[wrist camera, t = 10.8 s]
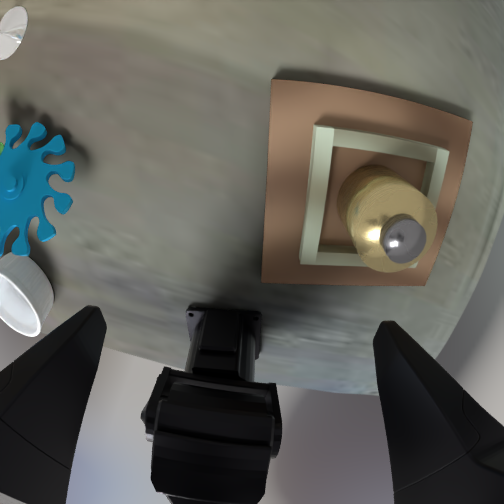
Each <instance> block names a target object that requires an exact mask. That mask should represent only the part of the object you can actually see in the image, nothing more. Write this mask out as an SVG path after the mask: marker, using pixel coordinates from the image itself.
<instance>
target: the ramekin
mask: <svg viewBox="0 0 504 504" xmlns="http://www.w3.org/2000/svg"><path fill="white" fill-rule="evenodd" d="M53 301H54V295H53V290H52V287H51V284H50V282H49V280H48V278H47V277H46V275H45V274H44V272H43V271H42V270H41V268H40V267H39V266H38V265H37V264H36V263H35V262H34V261H33V260H32V259H30V258H29V257H28V256H18V255H14V254H12V252H10V253H8V254H6V255H5V256H4V257H3V258H1V259H0V318H1V319H2V320H3V321H4V322H5V323H7V324H8V325H9V326H10V327H11V328H13V329H14V330H16V331H17V332H19V333H21V334H24V335H26V336H36V335H38V334H39V333H40V331H41V328H42V324H43V322H44V320H45V318H46V317H47V315H48V313H49V311H50V309H51V307H52V305H53Z"/></svg>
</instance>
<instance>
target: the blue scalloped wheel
mask: <svg viewBox="0 0 504 504" xmlns="http://www.w3.org/2000/svg"><path fill="white" fill-rule="evenodd" d="M21 135H22V129H21V127H20V125H17V124H13V125H8V127H7V128H6V143H5V146H4V145H3V143H1V142H0V257H1V256H2V254H3V252H4V245H5V241H6V238H7V236H8V235H9V233H10V232H11V231H12V230H13V229H14V228H15V227H18V228H19V230H20V234H19V237H18V238H17V239H16V240H15V242H14V243H13V245H12V254H14V255H18V256H29V254H30V245H29V242H28V228H29V224H30V221H31V219H32V218H33V217H38V218H39V226H38V229H37V236H38V238H39V240H40V241H43V242H45V241H48V240H50V239H51V238H53V237H54V236H55V235H56V230H55V228H54V226H52V225H51V224H50V223H49V222H48V220H47V219H46V216H45V213H44V201H45V199H46V198H48V197H53V198H54V204H55V208H56V209H57V211H58V212H59V213H61V214H65V213H66V212H67V211H68V210H69V208H70V207H71V205H72V203H73V201H72V199H71V197H70V196H69V195H68V194H66V193H59V192H57V191H55V190H53V189H52V188H51V187H50V185H49V183H48V180H49V178H50V176H51V175H53V174H58V175H59V176H60V177H61V178H62V179H63V180H64V181H65V182H71V181H72V180H73V178H74V174H75V165H74V163H73V162H71V161H66V162H64V163H62V164H59V165H50V164H46V163H44V162H43V160H44V157H45V156H46V155H48V154H54V155H62V154H64V153H65V152H66V147H65V144H64V141H63V138H62V136H61V135H57V136H55V137H54V138H53V139H52V140H51V141H50V142H49V143H48V144H46V145H45V146H43V147H42V148H39V149H36V150H30V147H31V145H32V144H33V143H34V142H37V141H41V140H43V139H44V138H45V137H46V135H47V131H46V128H45V127H44V126H43V125H42V124H41V123H39V122H36V123H34V124H33V125H32V127H31V129H30V132H29V134H28V136H27V138H26V139H25V140H24V141H23V142H22V144H20V145H19V146H18V147H17V148H15V149H12V146H13V144H14V143H15V142H16V141H17V140H18V139H19V138H20V137H21Z"/></svg>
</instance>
